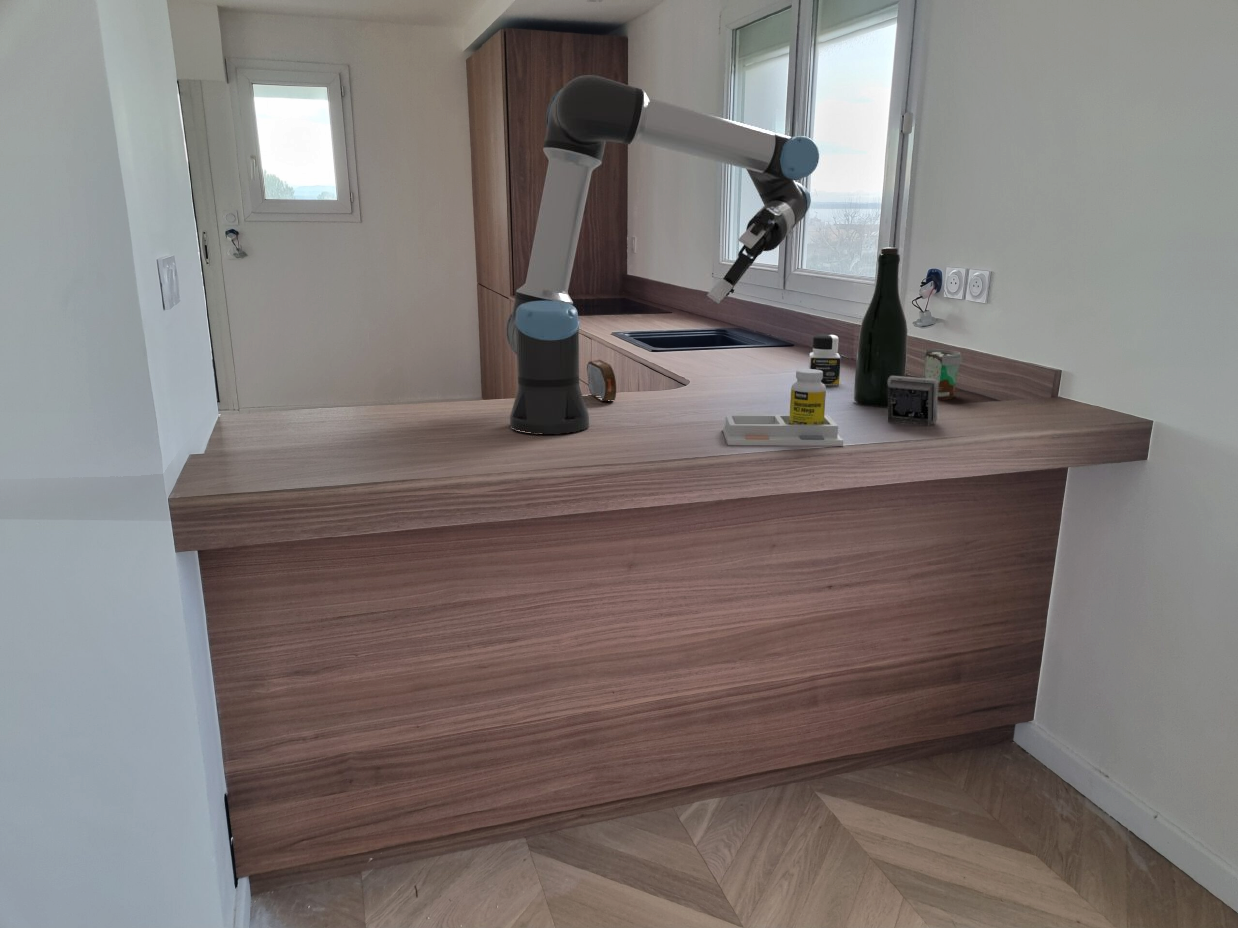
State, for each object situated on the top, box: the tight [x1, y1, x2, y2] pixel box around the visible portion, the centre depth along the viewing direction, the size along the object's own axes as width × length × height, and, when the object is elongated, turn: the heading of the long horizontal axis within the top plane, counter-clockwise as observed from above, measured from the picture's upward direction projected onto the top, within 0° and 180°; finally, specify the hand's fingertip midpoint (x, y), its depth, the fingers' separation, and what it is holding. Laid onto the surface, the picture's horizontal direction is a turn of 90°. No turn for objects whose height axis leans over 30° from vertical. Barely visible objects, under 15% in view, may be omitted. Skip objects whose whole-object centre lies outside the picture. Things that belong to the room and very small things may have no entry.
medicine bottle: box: [808, 333, 842, 387], centre depth 210 cm, size 7×7×12 cm
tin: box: [586, 359, 617, 401], centre depth 192 cm, size 15×3×8 cm, turn 18°
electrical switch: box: [887, 376, 938, 427], centre depth 165 cm, size 9×5×9 cm, turn 57°
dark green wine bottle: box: [853, 247, 908, 407], centre depth 182 cm, size 10×10×33 cm
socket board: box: [722, 414, 844, 447], centre depth 154 cm, size 20×12×3 cm, turn 88°
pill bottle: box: [789, 368, 827, 425], centre depth 154 cm, size 6×6×11 cm
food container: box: [923, 348, 963, 401], centre depth 193 cm, size 12×6×10 cm, turn 179°
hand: (728, 271), depth 157 cm, fingers open, 13 cm apart
